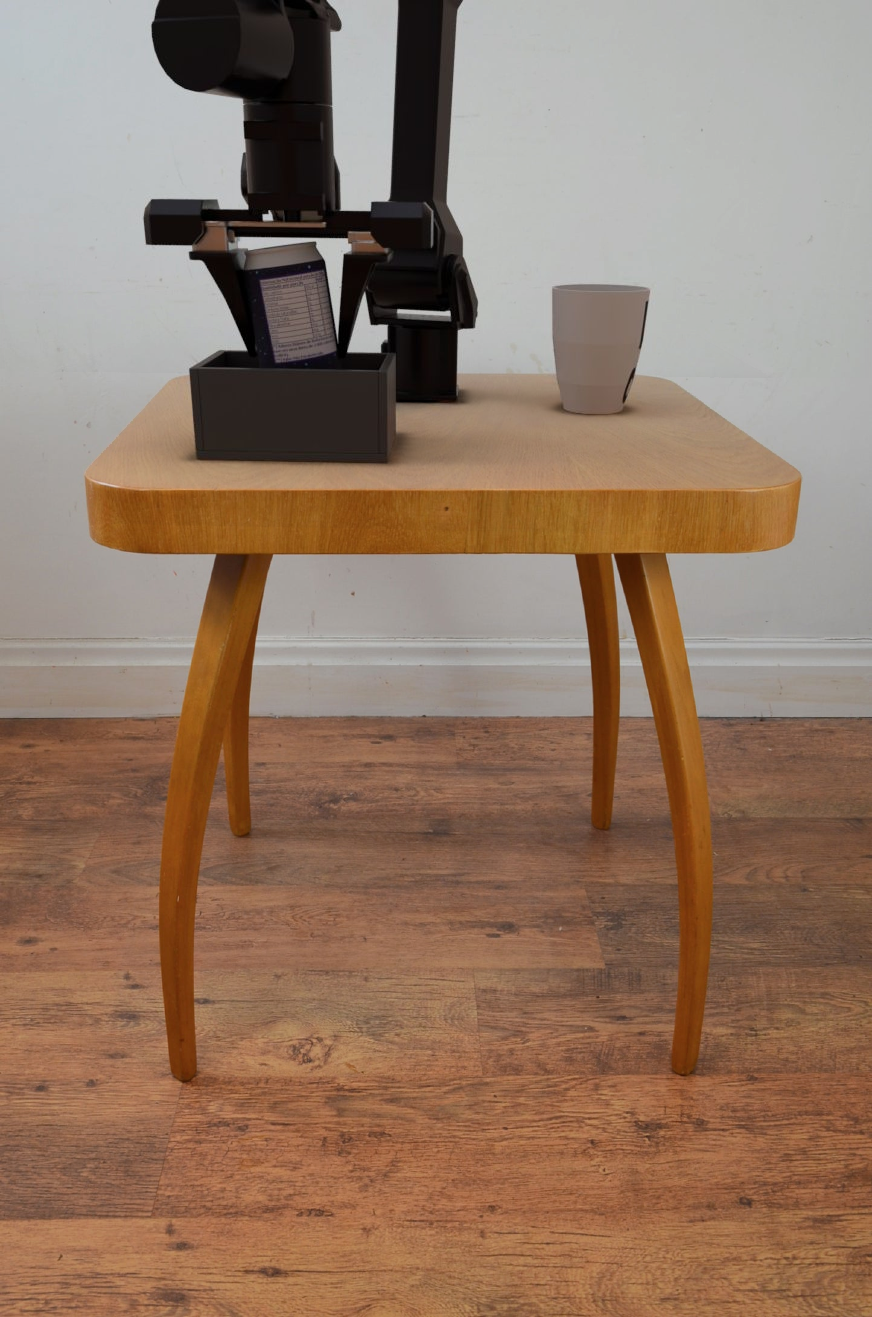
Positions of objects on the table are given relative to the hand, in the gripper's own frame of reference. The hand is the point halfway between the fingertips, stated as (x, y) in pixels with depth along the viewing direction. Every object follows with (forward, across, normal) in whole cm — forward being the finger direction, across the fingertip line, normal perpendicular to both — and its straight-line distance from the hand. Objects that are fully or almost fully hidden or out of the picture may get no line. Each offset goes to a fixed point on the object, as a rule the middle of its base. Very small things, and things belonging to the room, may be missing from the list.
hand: (298, 356), depth 73 cm
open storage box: (+6, 0, 0) cm, 6 cm away
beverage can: (+5, -1, 0) cm, 5 cm away
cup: (+7, -23, -17) cm, 29 cm away
